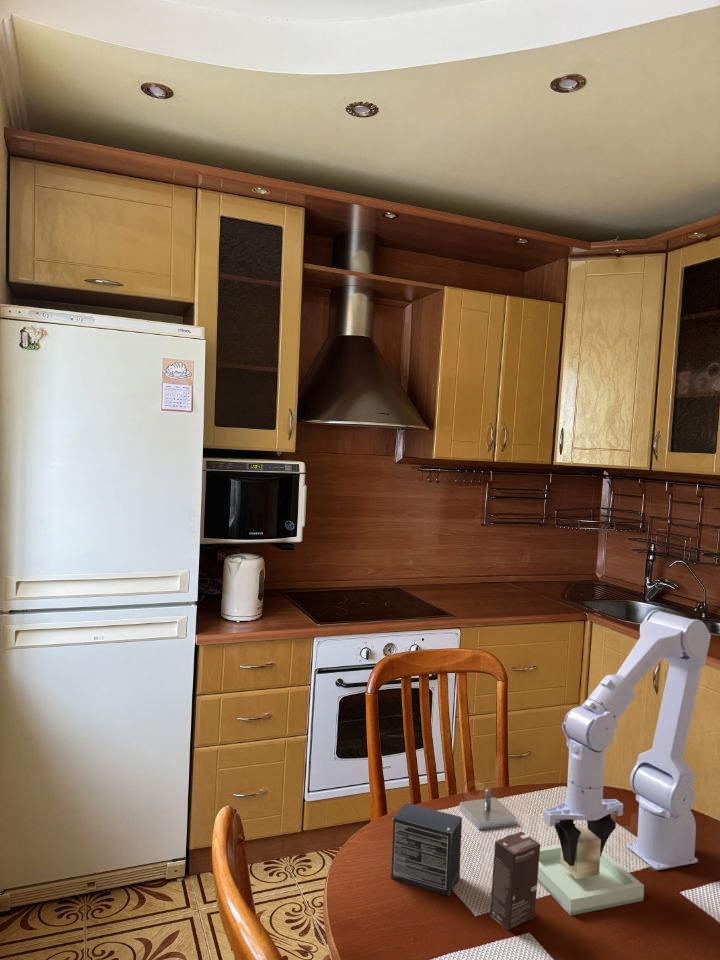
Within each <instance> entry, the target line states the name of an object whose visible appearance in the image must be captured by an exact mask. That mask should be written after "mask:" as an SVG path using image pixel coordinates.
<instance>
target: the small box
mask: <svg viewBox="0 0 720 960" xmlns="http://www.w3.org/2000/svg"><path fill="white" fill-rule="evenodd" d="M462 822H463V817H462V816H459V815H455V814H450V813H447V812H444V811H440V810H435V809H432V808H427V807H423V806H419V805H416V804H411V803H408V802H405V803H404V804H403V805H402V806H401V807H400V809H399V810H398V811H397V812H396V814H394V816H393V817H392V823H393V824H392V847H391V850H392V851H391V852H392V853H391V873H390V879H392V880H395V881H398V882H399V881H400V882H403V883H405V884H409V885H411V886H414V887H415V886H416V887H419V888H422V889H425V890H428V891H432V892H435V893H438V894H441V895H444V896H447V897H449V896H451V895H452V892H453V890H454V888H455V886H456V885H457V883H458V881H460V880H459V879H460V877H461V876H460V875H461V856H462V855H461V853H462V851H461V850H462V849H461V848H462V847H461V846H462V832H463V831H462V828H463V827H462V825H463V823H462Z"/></svg>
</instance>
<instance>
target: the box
mask: <svg viewBox="0 0 720 960" xmlns="http://www.w3.org/2000/svg"><path fill="white" fill-rule="evenodd" d="M540 847H541V843H539V842H538V841H537V840H536V839H534V838H532V837H531V836H529V835H528V834H527V833H525V832H523V831H519V832H516V833H514V834H509V835H506V836H505V837H503V838H501V839H500V838H499V839H497V840H495V842H494V855H493V865H492V880H491V882H492V883H491V893H490V894H491V895H490V905H489V907H490V908H489V916H490V917H491V918H492V919H493V920H494V921H496V922H497V923H498V924H500V925H501V926H502V927H503V928H504V929H506V930H508V931H511V930H513V929H514V928H516V927H518V926H520V925H522V924H524V923H527V922H528V921H531V920H533V919H534V918H536V917H535V916H536V904H537V891H538V890H537V889H538V888H537V887H538V881H537V880H538V867H539V854H540Z"/></svg>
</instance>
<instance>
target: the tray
mask: <svg viewBox="0 0 720 960" xmlns="http://www.w3.org/2000/svg"><path fill="white" fill-rule="evenodd" d="M560 860H561V844H560V843H559V844H552V845H547V846H540V854H539V867H538V880H537V883H539V884H540V885H541V886H542V888H544V889H545V890H546V892H547V893H548V894H549V895H550V896H551V897H552V898H553V899H554V900H555V901H556V902H557V903H558V904H559V905H560V907H562V909H564V911H565V912H567V914H568V915H569V916H575V915H581V914H586V913H590V912H594V911H601V910H604V909H610V908H614V907H618V906H619V907H620V906H623V905H624V906H625V905H629V904H633V903H639V902H644V896H645V894H644V893H645V885H644V884H643V883H642V882H640V881H639V879H637V878H636V877H634V875H633V874H631V872H629V871H627V869H625V868H624V867H623V866H622V865H620V864H619V863H618V861H616V860H615V859H613V858H612V857H611V856H610V855H608V854H607V852H605V851H604V850H603V851H602V854H601V857H600V869H599V875H596V876H590V877H585V878H580V879H576V878H575V877H574V876H573V875H572V874H571V873H570V872H569V871H567V870H566V869H565V868H564V867H563V866H562V865H561V864H560Z"/></svg>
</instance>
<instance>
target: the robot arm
mask: <svg viewBox="0 0 720 960" xmlns="http://www.w3.org/2000/svg"><path fill="white" fill-rule="evenodd" d="M639 624H640V625H639V638H638V640H637V641H636V643H635V645H634V646H633V647H632V649H631V650H630V652H629V653H628V656H626V659H625V660H624V661H623V663H622V665H621V666H620V667H619V669H618V670H617V672H616V673H615V674H607V675H605V676H604V677H603V679H601V681H600V682H599V684H598V685H597V686H596V687H595V688H594V689H593V691H592V692H591V693H590V694H589V696H588V698H587V699H586V700H585V701H584V702H583V703H582V704H581V706H580V705H579V706H576V707H574V708H571V709H570V710H569V711H568V712H567V713H566V715H565V717H564V722H562V724H561V727H562V729H561V730H562V732H563V735H565V738H566V746H567V748H568V762H567V763H568V765H567V766H568V767H567V785H566V787H567V788H566V796H565V801H562V802H560V803H558V804H556V805H554V806H552V807H549V808H545V809H543V819H542V820H543V822H544V823H546V824H547V825H548V826H549V827H554V829H555V831H556V834H557V837H558V840H559V844H561V848H562V854H563V860H564V861H565V862H566V863H567V864H568V865H570V866H574V863H575V857H576V846H577V842H578V839H579V836H580V834H581V831H579V830H578V829H577V828H576V827H577V826H576V824H575V823H574V821H586V824H587V829H589V830H590V831H591V832H592V833H593V834H595V835H596V836H597V837H598V838H600V839H601V846H600V857H601V854H602V851H604V847H605V845H606V843H607V841H608V839H610V836H611V835H612V833H613V832H614V831H615V830H616V827H617V823H616V821H615V820H614V819H613V818H612V815H616V816H617V817H618V816H619V817H620V816H623V815H624V804H623V803H622V802H621V801H619V800H618V799H616V798H612V799H606V798H605V799H604V798H603V797H604V775H605V755H606V749H608V747H609V746H610V745H612V742H613V741H614V738H615V733H616V729H617V728H618V725H619V723H618V721H619V719H620V718H621V717H622V716H623V714H624V713H625V711H626V710H627V709H628V707H629V706H630V705H631V704H632V702H633V701H634V700H635V689H634V688H635V686H636V685H637V684H638V683H639V682H640V681H641V680H642V679H643V678H644V677H645V675H647V674H648V673H649V671H650V670H652V668H654V666H655V665H656V664H657V663H658V662H659V661H660V660H661V659H665V661H666V662H667V664H668V670H667V675H666V680H665V684H664V689H663V694H662V700H661V702H660V703H661V704H660V708H659V713H658V717H657V722H656V728H655V732H654V737H653V742H652V747H651V748H650V749H648V750H646V751H644V752H641V753H639V754H638V757H637V760H636V763H635V765H634V767H633V768H632V770H631V773H630V777H629V784H630V785H629V786H630V789H631V791H632V792H633V793H634V794H635V801H637V802H638V819H637V821H638V822H637V839H636V840H637V841H633V842H626V844H625V847H627V848H628V850H630V851H632V853H634V854H636V855H637V857H639V858H640V859H642V860H643V862H645V863H647V864H648V866H650V867H652V869H654V870H656V871H659V870H665V869H670V868H676V867H680V866H686V865H687V866H688V865H691V864H696V863H698V862H699V859H698V858H697V857H695V851H696V835H697V834H696V833H697V824H696V819H695V816H694V814H693V812H692V807H693V805H694V803H695V798H696V796H695V786H694V785H695V779H696V775H695V774H694V772H693V770H692V769H691V768H690V766H689V765H688V763H687V762H686V760H685V759H684V756H685V753H686V752H685V751H686V746H687V742H688V738H689V736H688V735H689V732H690V728H691V722H692V717H693V713H694V708H695V702H696V698H697V693H698V688H699V682H700V679H701V673H702V668H704V667H705V665H706V661H707V656H708V651H709V648H710V642H711V637H712V635H711V634H710V631H709V630H708V628H707V625H706V624H705V623H704V622H703V621H702V620H699V619H692V618H688V617H685V616H682V615H681V616H680V615H676V614H673V613H669V612H664V611H662V610H660V609H653V610H651V611H650V612H648V613H647V615H646V616H645V618H644V620H643V621H642V622H641V623H639Z"/></svg>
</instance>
